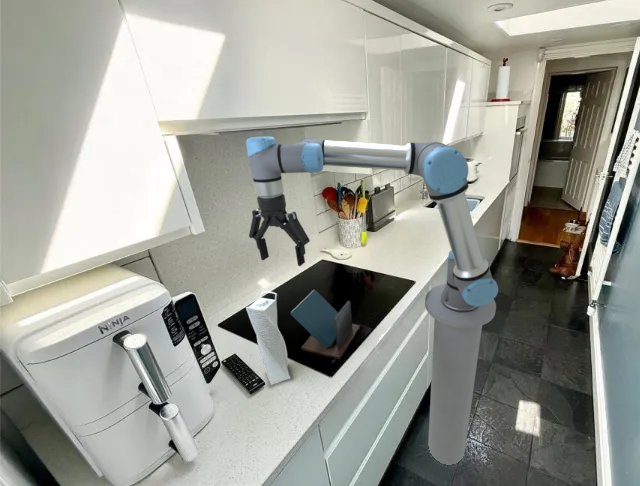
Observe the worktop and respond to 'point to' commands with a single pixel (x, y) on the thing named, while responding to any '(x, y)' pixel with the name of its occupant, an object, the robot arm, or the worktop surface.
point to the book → (317, 318)
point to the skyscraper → (269, 338)
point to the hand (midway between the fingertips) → (283, 261)
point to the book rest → (343, 336)
